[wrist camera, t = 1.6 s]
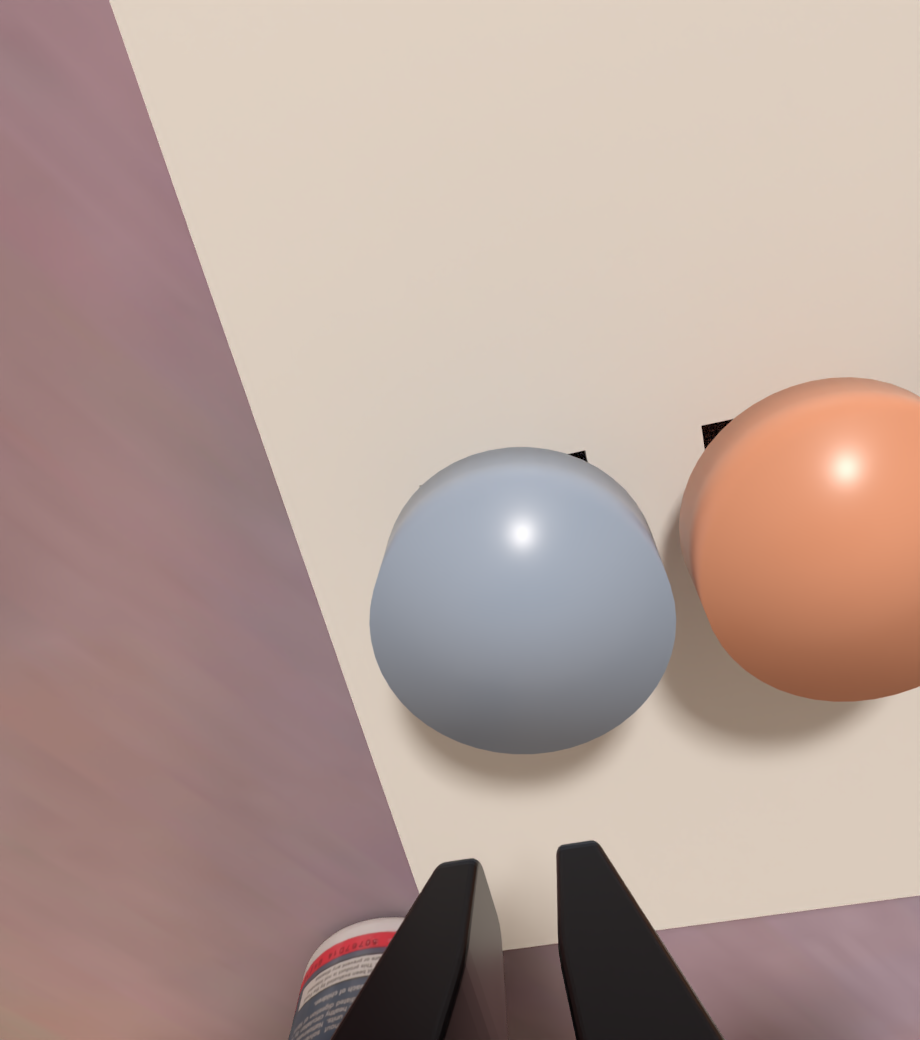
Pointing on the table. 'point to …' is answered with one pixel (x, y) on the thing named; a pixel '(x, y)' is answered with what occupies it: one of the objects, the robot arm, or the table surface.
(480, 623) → the slate button
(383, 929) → the pill bottle
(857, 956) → the table surface
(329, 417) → the panel
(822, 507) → the terracotta button
